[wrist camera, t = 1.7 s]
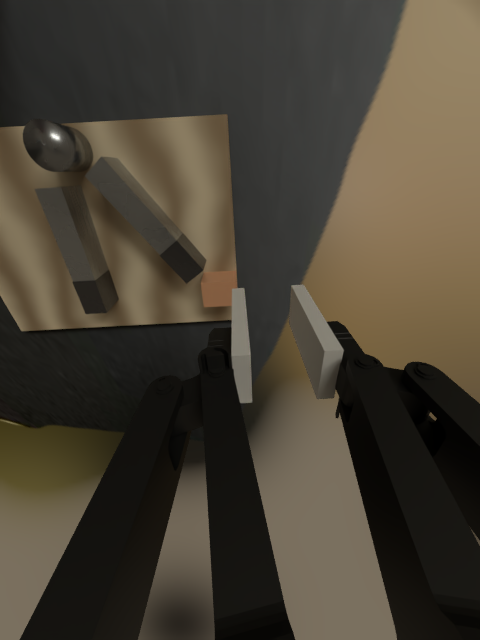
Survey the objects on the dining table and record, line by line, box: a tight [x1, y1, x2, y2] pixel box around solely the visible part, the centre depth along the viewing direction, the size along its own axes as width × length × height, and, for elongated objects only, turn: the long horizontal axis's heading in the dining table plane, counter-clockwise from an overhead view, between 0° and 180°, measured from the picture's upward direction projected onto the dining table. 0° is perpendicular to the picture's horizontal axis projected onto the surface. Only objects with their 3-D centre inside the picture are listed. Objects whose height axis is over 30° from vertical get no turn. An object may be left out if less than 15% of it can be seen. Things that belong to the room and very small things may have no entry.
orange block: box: [201, 271, 237, 307], centre depth 30 cm, size 4×3×4 cm
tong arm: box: [85, 156, 206, 284], centre depth 26 cm, size 13×2×4 cm, turn 38°
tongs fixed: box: [23, 119, 119, 314], centre depth 26 cm, size 18×5×4 cm, turn 3°
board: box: [0, 114, 237, 331], centre depth 29 cm, size 30×22×1 cm
